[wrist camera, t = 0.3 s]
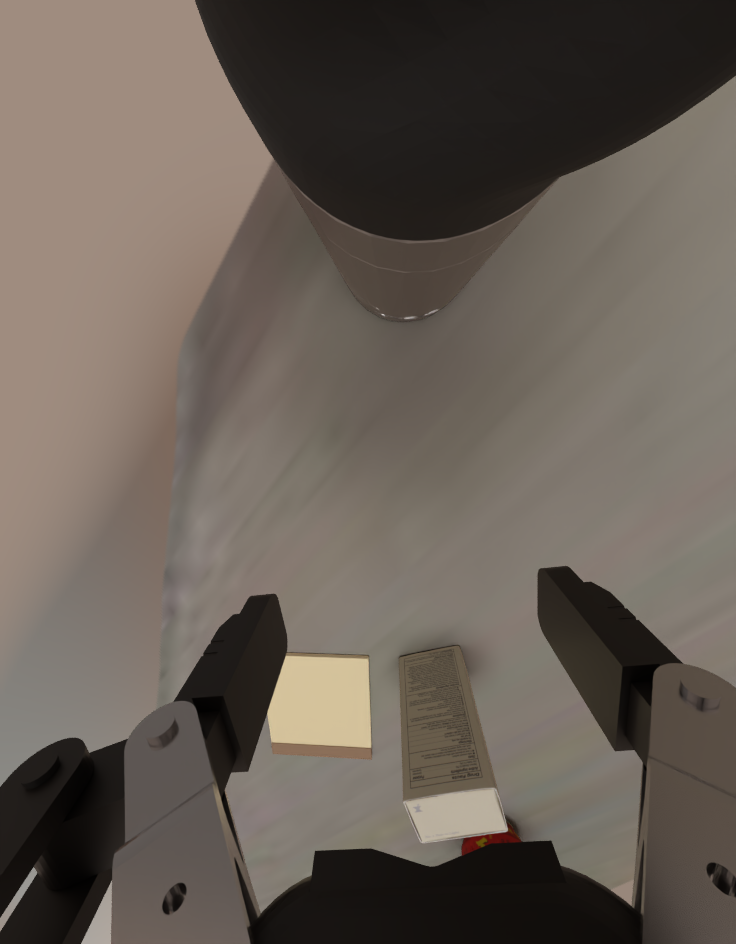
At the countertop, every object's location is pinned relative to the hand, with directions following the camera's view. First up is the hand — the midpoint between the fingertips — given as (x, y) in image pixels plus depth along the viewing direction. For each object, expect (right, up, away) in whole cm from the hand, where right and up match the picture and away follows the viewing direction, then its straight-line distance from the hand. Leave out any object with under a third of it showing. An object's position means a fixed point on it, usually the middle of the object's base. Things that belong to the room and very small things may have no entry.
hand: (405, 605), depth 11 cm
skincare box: (+5, -15, +24) cm, 29 cm away
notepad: (-6, -20, +26) cm, 33 cm away
